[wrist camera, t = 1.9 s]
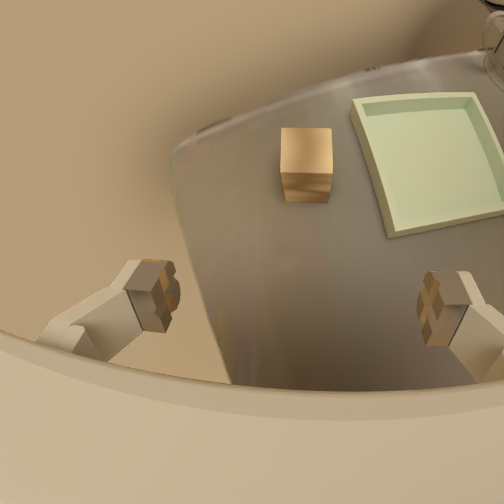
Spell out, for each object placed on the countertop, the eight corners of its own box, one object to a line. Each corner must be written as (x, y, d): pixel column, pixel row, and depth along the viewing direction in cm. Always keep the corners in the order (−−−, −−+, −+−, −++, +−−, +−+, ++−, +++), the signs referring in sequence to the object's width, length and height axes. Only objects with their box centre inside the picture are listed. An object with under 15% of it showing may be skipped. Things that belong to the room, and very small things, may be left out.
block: (327, 165, 35) (331, 128, 27) (327, 203, 34) (333, 173, 26) (287, 164, 35) (281, 128, 28) (286, 202, 35) (280, 172, 27)
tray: (465, 106, 33) (474, 92, 30) (507, 213, 30) (521, 205, 27) (349, 115, 35) (352, 99, 32) (387, 239, 32) (395, 231, 29)
